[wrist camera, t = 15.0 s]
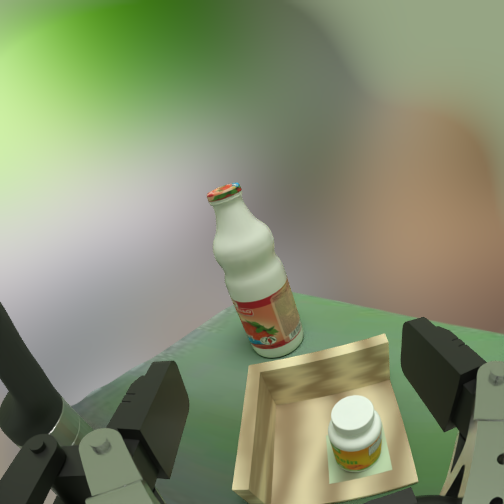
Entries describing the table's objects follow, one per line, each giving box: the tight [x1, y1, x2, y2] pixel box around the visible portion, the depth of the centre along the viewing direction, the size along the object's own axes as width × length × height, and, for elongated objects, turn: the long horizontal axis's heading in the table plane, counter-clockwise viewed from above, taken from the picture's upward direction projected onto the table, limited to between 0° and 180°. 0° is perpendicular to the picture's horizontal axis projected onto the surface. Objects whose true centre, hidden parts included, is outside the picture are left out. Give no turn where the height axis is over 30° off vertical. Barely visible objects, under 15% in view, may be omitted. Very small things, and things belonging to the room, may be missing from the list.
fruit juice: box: [207, 183, 303, 358], centre depth 46 cm, size 9×9×28 cm
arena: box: [232, 334, 418, 504], centre depth 28 cm, size 18×18×8 cm
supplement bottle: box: [328, 395, 382, 472], centre depth 25 cm, size 5×5×10 cm
